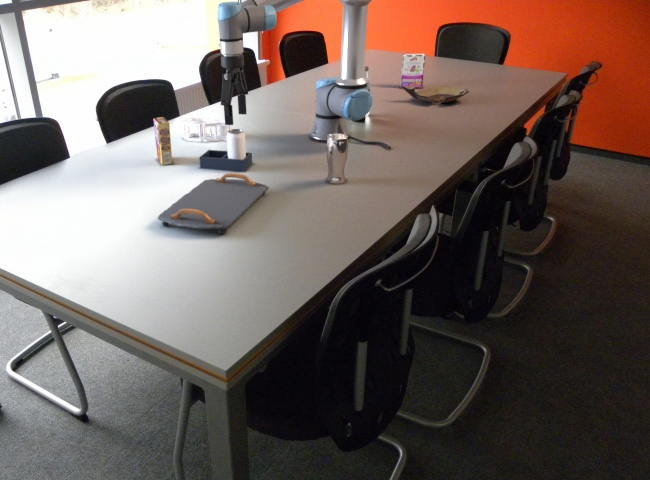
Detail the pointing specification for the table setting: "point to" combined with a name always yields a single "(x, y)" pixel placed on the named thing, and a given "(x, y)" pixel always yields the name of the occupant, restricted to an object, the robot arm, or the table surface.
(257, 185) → the serving tray
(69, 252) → the table surface
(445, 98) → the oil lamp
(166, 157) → the candy box
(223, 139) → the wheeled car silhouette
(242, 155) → the can
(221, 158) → the tray
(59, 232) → the table surface
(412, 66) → the candy bar box
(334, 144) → the beer glass
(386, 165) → the table surface
